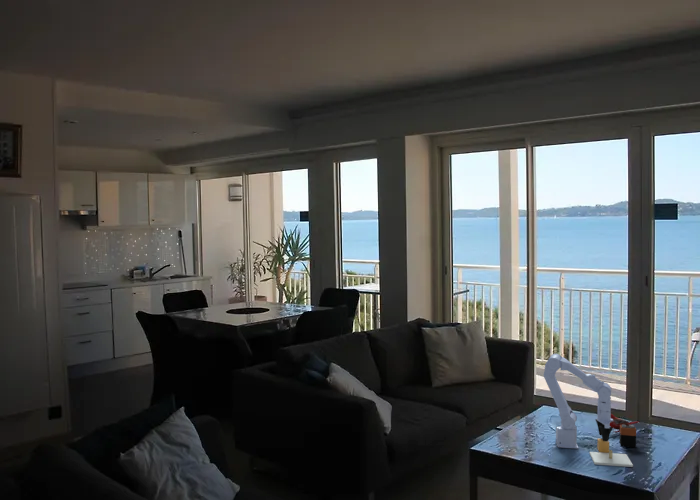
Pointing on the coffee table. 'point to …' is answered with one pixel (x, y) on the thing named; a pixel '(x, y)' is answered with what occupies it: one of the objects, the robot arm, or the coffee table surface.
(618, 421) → the decorative bird figurine
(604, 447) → the tan cardboard-like box
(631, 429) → the battery
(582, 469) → the coffee table surface
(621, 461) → the plate
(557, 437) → the robot arm
